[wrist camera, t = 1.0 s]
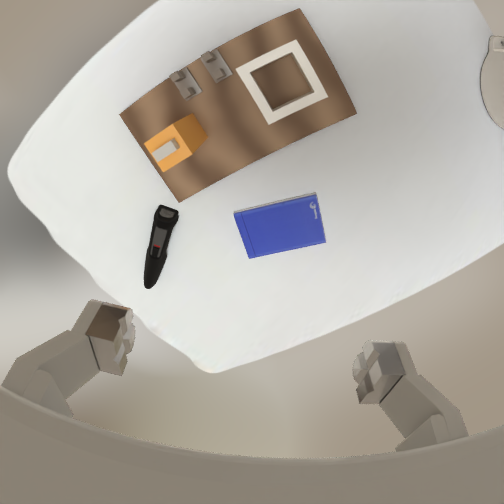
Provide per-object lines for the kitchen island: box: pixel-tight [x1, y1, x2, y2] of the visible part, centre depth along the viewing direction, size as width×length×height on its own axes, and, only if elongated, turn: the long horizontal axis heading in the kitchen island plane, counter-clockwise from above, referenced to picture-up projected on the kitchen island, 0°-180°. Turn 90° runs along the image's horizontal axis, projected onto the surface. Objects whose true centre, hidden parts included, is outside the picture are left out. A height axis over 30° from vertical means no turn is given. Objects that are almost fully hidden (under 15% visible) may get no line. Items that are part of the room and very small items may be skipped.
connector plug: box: [144, 113, 208, 172], centre depth 34 cm, size 4×4×10 cm
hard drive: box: [234, 193, 326, 259], centre depth 46 cm, size 2×8×12 cm
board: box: [119, 8, 357, 203], centre depth 35 cm, size 28×16×5 cm, turn 119°
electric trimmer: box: [144, 205, 178, 289], centre depth 49 cm, size 4×16×3 cm, turn 158°
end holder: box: [236, 40, 328, 125], centre depth 33 cm, size 8×8×3 cm
